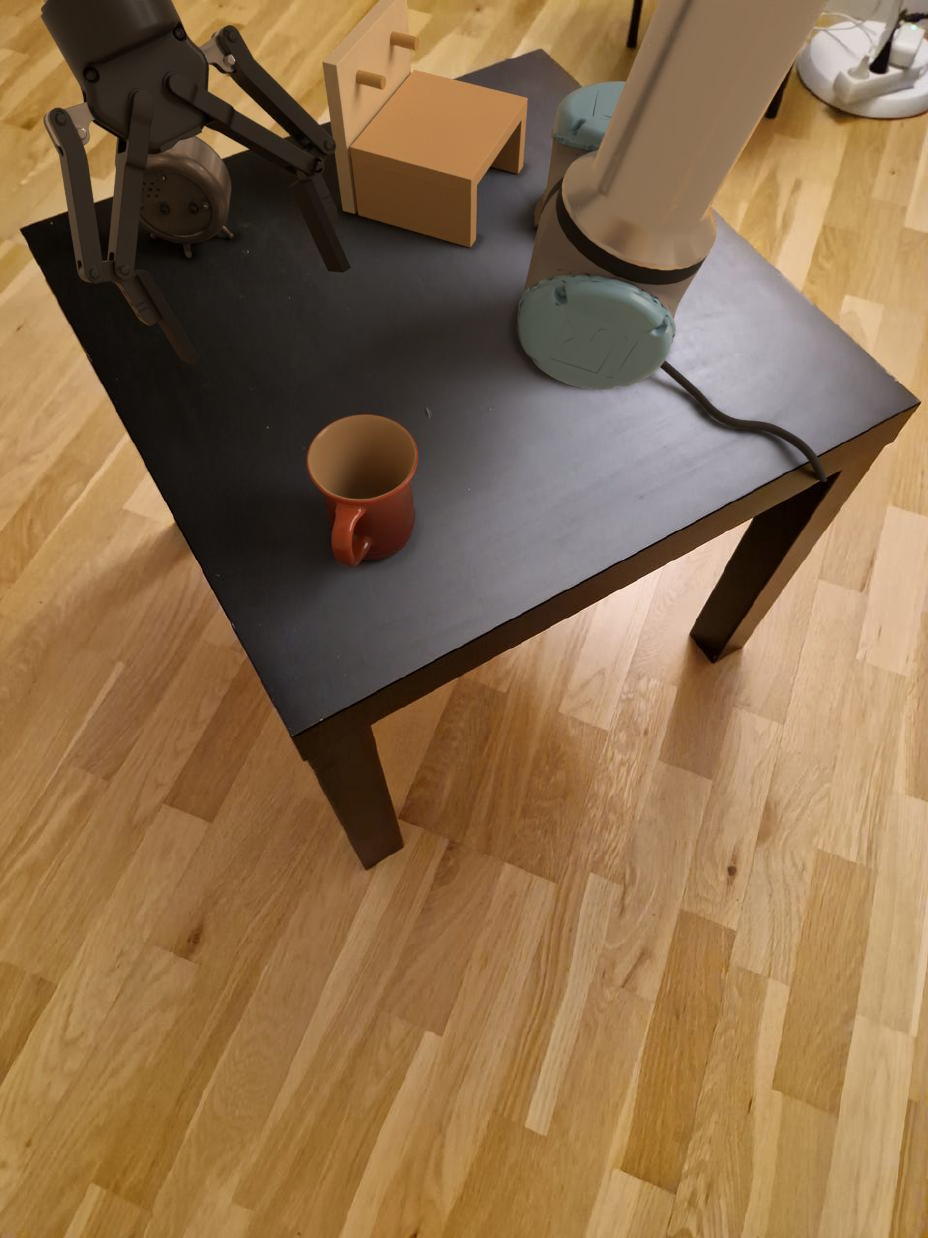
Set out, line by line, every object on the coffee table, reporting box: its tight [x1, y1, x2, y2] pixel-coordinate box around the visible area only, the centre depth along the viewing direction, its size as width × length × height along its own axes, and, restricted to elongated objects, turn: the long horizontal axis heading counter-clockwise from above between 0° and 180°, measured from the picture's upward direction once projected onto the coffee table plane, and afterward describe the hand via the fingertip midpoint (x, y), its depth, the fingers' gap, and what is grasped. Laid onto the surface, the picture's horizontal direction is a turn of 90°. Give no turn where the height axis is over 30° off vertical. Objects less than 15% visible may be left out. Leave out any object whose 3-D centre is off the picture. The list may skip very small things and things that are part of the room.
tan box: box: [321, 0, 529, 248], centre depth 90 cm, size 16×16×16 cm
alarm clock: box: [139, 135, 234, 258], centre depth 85 cm, size 11×5×16 cm, turn 92°
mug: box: [305, 413, 419, 568], centre depth 68 cm, size 12×9×10 cm
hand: (267, 313), depth 62 cm, fingers open, 13 cm apart
